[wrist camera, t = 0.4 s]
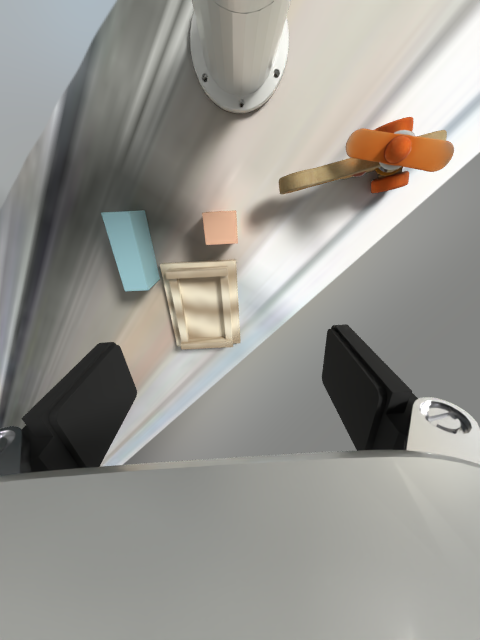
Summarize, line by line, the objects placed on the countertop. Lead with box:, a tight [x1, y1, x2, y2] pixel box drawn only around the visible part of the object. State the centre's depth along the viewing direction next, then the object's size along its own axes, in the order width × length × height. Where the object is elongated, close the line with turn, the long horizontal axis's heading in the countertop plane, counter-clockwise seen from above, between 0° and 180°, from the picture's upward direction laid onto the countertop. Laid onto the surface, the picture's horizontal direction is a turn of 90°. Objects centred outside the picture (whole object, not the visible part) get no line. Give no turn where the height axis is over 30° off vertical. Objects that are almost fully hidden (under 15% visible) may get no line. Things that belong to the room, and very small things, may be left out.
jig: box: [160, 260, 240, 349], centre depth 44 cm, size 18×14×4 cm
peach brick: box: [202, 211, 238, 245], centre depth 36 cm, size 4×5×6 cm
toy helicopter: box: [279, 117, 454, 194], centre depth 29 cm, size 8×21×14 cm, turn 104°
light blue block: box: [101, 210, 160, 291], centre depth 37 cm, size 12×4×6 cm, turn 3°
